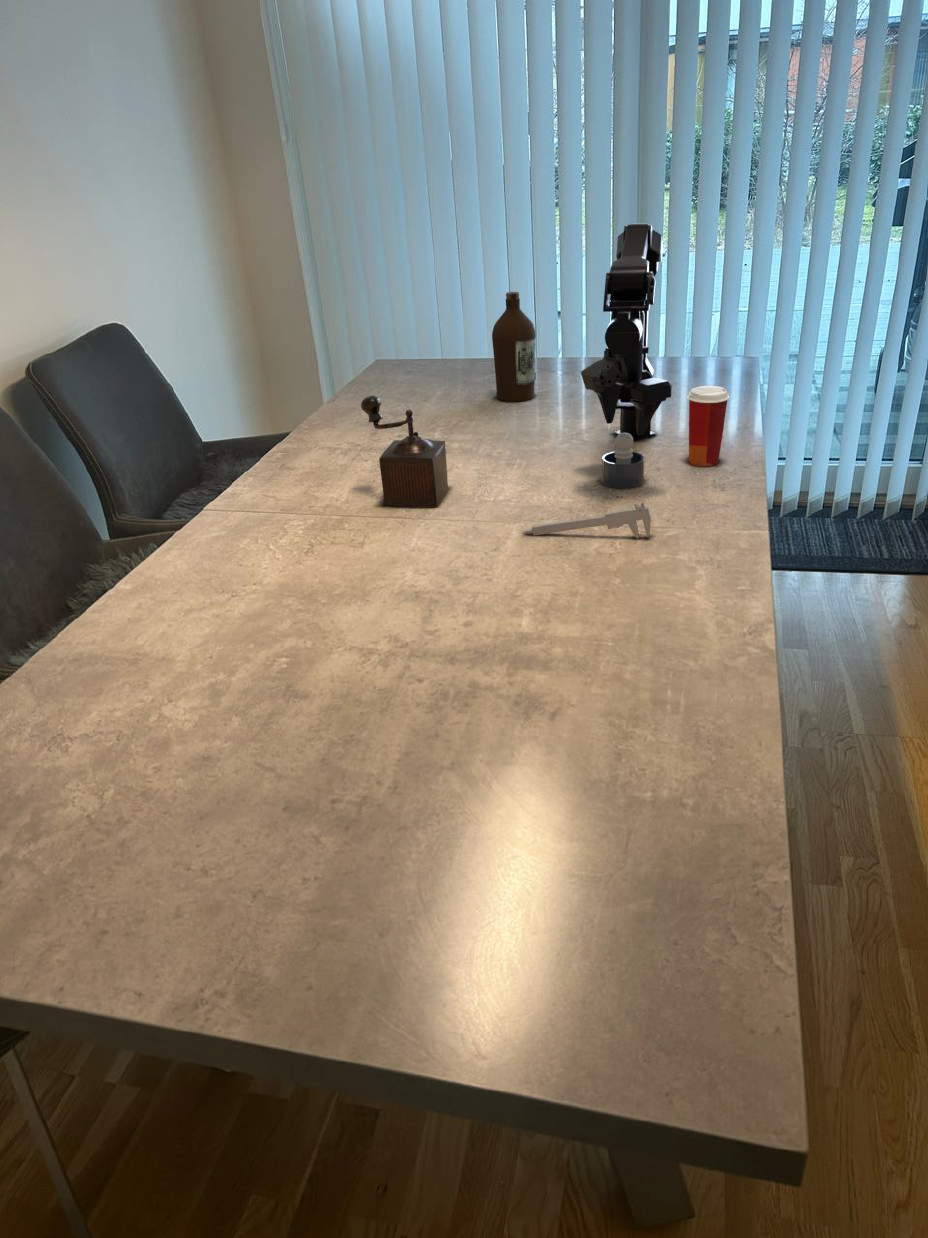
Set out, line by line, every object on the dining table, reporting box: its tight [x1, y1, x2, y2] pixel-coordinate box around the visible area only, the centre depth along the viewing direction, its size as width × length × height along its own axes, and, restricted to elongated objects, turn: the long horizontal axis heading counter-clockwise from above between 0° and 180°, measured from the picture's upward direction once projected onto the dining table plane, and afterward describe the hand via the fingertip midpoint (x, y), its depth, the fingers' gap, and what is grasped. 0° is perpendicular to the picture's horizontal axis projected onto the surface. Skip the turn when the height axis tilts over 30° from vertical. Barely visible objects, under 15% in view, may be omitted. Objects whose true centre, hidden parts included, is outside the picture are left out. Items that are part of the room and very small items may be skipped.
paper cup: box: [686, 385, 730, 467], centre depth 171 cm, size 8×8×14 cm
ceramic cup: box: [600, 451, 646, 489], centre depth 166 cm, size 8×8×5 cm
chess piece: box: [614, 433, 634, 464], centre depth 165 cm, size 5×5×9 cm
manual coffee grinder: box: [360, 395, 450, 508], centre depth 163 cm, size 16×11×18 cm
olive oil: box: [491, 291, 537, 403], centre depth 218 cm, size 11×11×25 cm
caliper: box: [524, 500, 652, 539], centre depth 145 cm, size 20×1×6 cm, turn 78°
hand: (624, 428), depth 163 cm, fingers open, 9 cm apart
